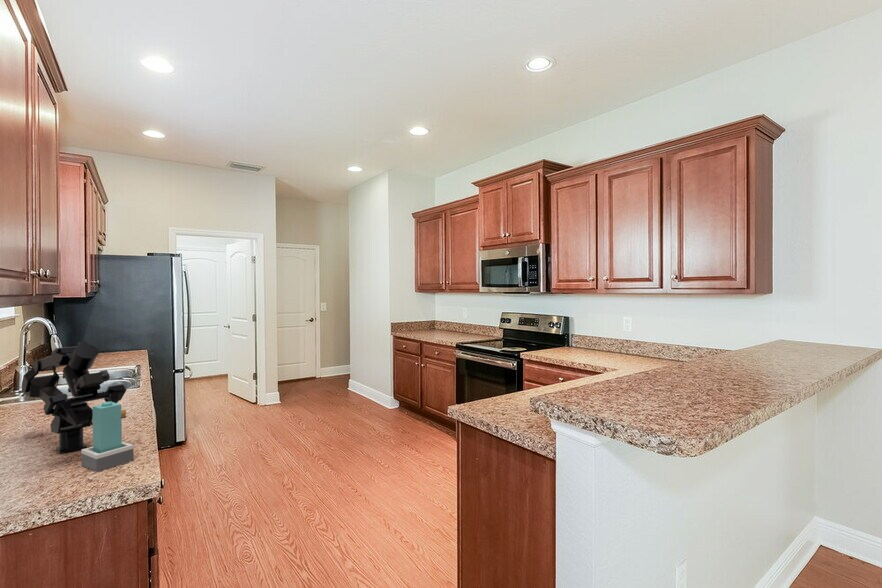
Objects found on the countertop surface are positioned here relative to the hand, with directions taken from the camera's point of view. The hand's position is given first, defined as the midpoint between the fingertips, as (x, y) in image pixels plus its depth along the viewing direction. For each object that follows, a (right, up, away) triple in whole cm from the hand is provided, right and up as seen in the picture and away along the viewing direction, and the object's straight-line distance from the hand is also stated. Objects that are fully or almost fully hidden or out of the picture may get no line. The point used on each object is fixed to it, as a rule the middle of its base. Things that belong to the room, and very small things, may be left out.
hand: (96, 421), depth 126 cm
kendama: (-30, -11, +37) cm, 49 cm away
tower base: (+6, -11, -3) cm, 13 cm away
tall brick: (+6, -7, -3) cm, 10 cm away
